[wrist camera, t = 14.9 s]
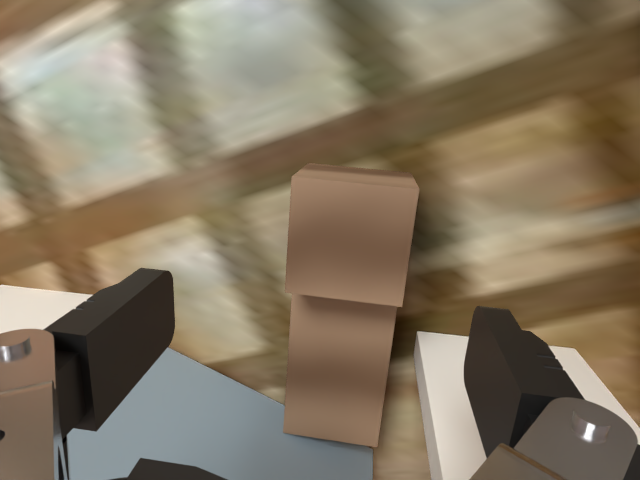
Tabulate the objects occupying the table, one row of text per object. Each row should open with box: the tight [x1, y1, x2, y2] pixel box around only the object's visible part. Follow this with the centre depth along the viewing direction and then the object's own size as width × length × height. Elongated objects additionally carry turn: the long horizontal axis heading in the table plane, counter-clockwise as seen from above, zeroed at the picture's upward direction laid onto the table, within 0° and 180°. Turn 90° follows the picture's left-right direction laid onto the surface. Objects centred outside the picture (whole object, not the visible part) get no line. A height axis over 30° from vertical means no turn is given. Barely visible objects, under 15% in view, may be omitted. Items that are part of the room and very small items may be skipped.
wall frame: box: [0, 285, 640, 480], centre depth 17 cm, size 2×32×16 cm, turn 86°
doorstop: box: [283, 163, 419, 447], centre depth 22 cm, size 14×5×4 cm, turn 175°
